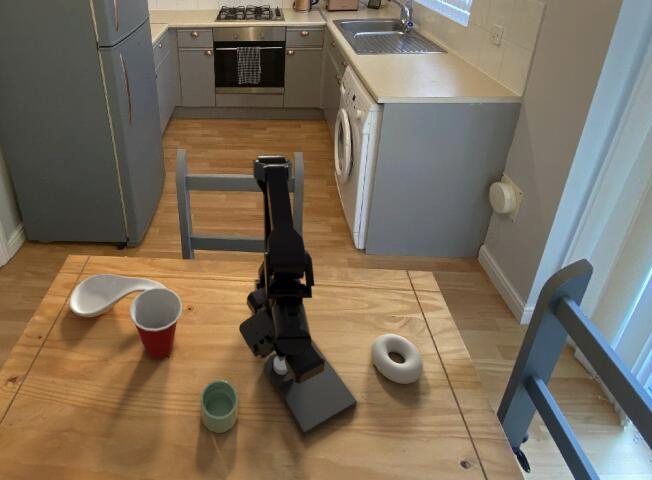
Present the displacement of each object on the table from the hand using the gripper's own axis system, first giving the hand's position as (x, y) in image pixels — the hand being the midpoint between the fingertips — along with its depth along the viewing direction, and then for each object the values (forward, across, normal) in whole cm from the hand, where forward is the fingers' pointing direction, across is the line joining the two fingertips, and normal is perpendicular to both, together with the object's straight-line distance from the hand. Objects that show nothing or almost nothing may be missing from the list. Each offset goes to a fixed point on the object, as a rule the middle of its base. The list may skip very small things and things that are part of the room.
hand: (281, 359), depth 83 cm
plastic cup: (+5, -17, -20) cm, 27 cm away
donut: (+5, +8, +23) cm, 25 cm away
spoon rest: (+5, -32, -25) cm, 41 cm away
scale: (+5, +4, +4) cm, 8 cm away
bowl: (+5, +1, -14) cm, 15 cm away
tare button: (+3, 0, 0) cm, 3 cm away
